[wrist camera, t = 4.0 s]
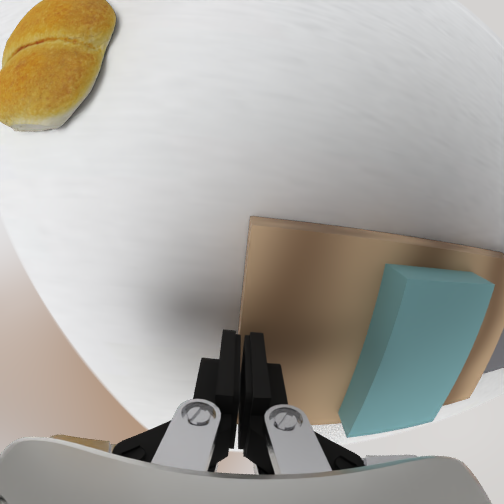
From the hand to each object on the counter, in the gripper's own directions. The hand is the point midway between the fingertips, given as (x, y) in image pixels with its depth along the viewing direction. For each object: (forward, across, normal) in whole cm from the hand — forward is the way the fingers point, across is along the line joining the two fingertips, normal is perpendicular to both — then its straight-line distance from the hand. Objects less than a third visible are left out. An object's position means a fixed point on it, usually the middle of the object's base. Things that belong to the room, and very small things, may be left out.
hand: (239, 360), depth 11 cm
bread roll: (+4, +12, -14) cm, 19 cm away
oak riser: (+4, -9, 0) cm, 10 cm away
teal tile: (0, -9, 0) cm, 9 cm away
